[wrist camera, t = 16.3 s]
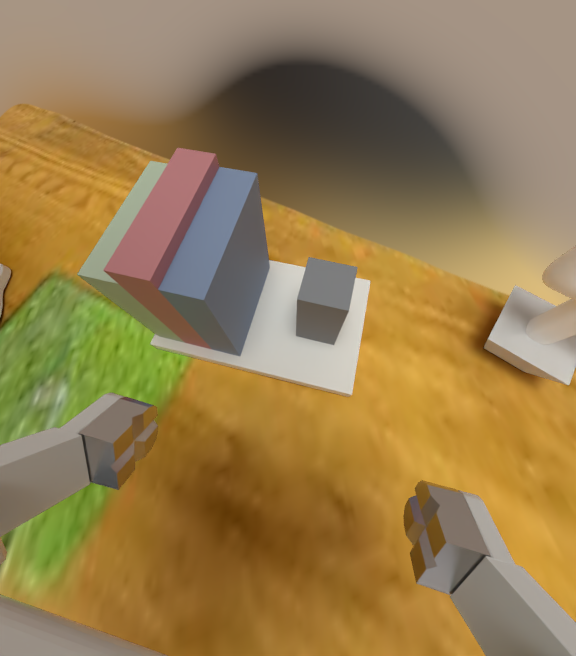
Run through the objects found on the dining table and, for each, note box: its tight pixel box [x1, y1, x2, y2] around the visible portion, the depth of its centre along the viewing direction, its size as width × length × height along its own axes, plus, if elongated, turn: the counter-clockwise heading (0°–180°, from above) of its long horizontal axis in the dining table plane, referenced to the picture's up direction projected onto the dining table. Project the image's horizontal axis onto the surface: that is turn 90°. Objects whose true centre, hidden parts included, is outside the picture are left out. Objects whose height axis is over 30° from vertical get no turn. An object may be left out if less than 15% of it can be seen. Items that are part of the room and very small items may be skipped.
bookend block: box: [296, 257, 357, 345], centre depth 25 cm, size 4×4×8 cm
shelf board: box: [77, 148, 370, 397], centre depth 24 cm, size 21×13×14 cm, turn 76°
